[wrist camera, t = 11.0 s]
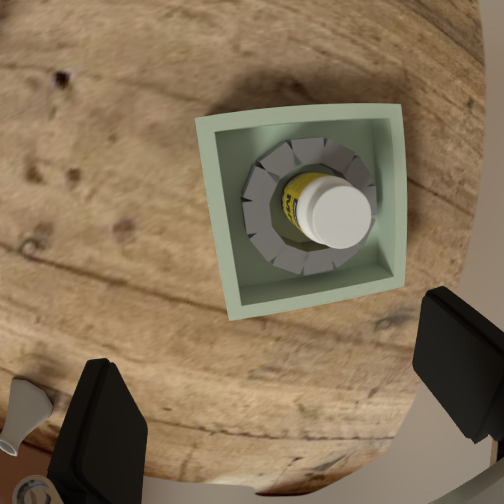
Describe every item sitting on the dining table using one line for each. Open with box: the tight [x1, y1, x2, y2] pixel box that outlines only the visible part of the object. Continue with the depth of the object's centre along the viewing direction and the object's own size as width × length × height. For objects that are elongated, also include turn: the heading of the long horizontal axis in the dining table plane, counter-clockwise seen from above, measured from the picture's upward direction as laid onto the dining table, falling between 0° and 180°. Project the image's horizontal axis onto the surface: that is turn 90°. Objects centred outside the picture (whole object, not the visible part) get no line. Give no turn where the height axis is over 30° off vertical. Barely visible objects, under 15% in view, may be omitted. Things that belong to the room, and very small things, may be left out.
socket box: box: [195, 103, 407, 321], centre depth 26 cm, size 16×16×4 cm
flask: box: [0, 379, 53, 456], centre depth 28 cm, size 7×7×10 cm
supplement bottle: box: [280, 171, 371, 249], centre depth 23 cm, size 5×5×8 cm
